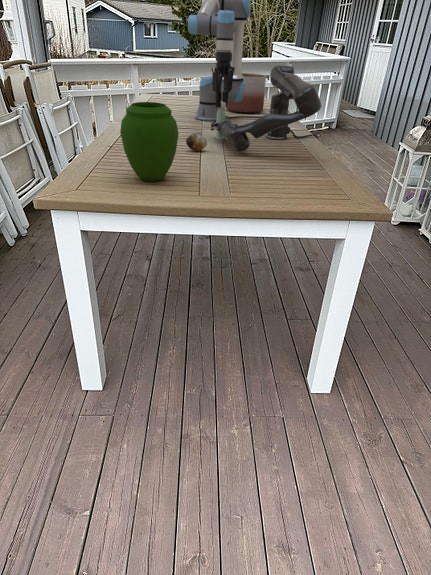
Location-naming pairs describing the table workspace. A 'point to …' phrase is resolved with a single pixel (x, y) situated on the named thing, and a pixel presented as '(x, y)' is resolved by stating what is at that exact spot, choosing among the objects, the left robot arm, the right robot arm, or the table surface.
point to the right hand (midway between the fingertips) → (219, 123)
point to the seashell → (196, 141)
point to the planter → (250, 95)
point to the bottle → (220, 120)
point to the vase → (149, 139)
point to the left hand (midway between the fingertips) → (221, 106)
